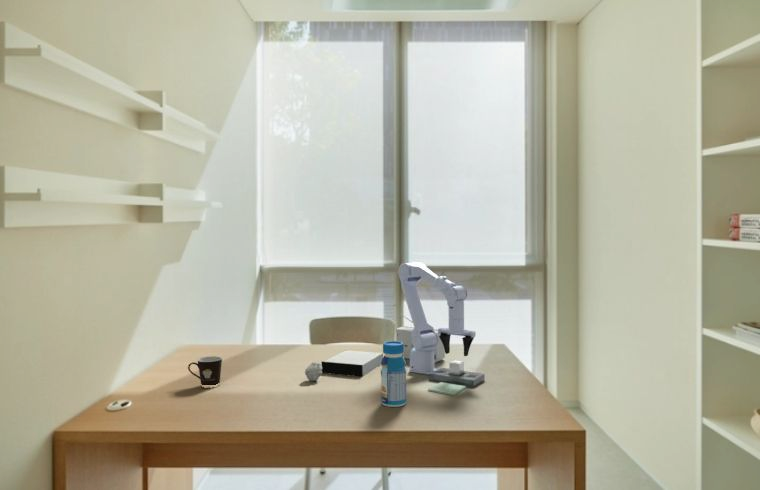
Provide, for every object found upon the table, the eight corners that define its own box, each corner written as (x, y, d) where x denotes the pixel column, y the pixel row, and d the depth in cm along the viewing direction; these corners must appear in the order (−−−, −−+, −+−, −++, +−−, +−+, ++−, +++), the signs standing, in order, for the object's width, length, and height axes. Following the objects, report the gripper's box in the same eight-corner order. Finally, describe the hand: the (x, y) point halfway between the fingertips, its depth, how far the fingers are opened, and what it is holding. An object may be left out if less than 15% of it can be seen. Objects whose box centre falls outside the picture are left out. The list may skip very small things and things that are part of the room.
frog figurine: (325, 380, 211) (325, 362, 211) (311, 384, 206) (311, 365, 206) (315, 377, 216) (315, 359, 215) (301, 381, 210) (300, 362, 210)
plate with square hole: (429, 380, 210) (429, 373, 210) (441, 373, 218) (441, 367, 218) (473, 387, 200) (473, 380, 200) (484, 380, 208) (484, 373, 208)
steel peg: (449, 381, 209) (449, 362, 208) (454, 378, 212) (454, 360, 212) (459, 382, 206) (459, 363, 206) (463, 379, 210) (463, 361, 209)
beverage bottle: (398, 409, 177) (397, 346, 177) (376, 405, 182) (375, 344, 181) (411, 402, 184) (410, 341, 184) (389, 398, 189) (388, 339, 188)
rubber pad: (428, 390, 197) (428, 389, 197) (441, 383, 205) (441, 382, 205) (453, 395, 191) (453, 393, 191) (466, 387, 199) (466, 386, 199)
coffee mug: (227, 384, 208) (227, 357, 208) (211, 390, 200) (210, 362, 200) (203, 380, 213) (202, 354, 212) (186, 386, 205) (186, 359, 205)
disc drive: (321, 374, 222) (321, 361, 222) (345, 360, 243) (345, 349, 243) (362, 378, 215) (361, 365, 215) (383, 364, 236) (383, 352, 236)
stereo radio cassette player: (445, 360, 241) (445, 313, 240) (437, 364, 234) (436, 316, 233) (403, 354, 252) (403, 310, 251) (394, 358, 245) (393, 312, 244)
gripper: (434, 318, 209) (434, 354, 209) (469, 321, 201) (470, 359, 201) (442, 315, 215) (442, 350, 215) (477, 318, 207) (477, 355, 207)
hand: (456, 354), depth 209 cm, fingers open, 7 cm apart
